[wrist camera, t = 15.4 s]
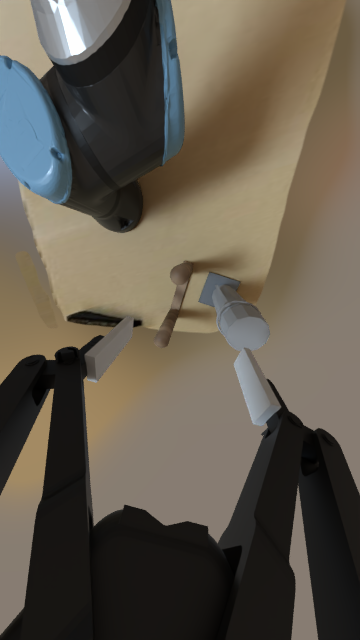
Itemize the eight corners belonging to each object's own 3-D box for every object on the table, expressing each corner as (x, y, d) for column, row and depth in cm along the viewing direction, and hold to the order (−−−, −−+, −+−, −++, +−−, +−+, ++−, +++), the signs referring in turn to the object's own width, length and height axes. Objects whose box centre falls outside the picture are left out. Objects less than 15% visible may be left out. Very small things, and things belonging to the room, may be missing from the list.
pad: (209, 271, 42) (209, 272, 42) (239, 281, 42) (240, 282, 42) (198, 301, 47) (198, 301, 46) (226, 310, 47) (226, 310, 46)
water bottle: (239, 297, 44) (282, 340, 21) (218, 310, 46) (235, 361, 24) (225, 273, 41) (255, 293, 19) (203, 288, 44) (206, 322, 21)
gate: (183, 260, 42) (172, 262, 25) (194, 264, 42) (191, 268, 25) (167, 315, 50) (152, 345, 34) (177, 318, 50) (166, 349, 34)
